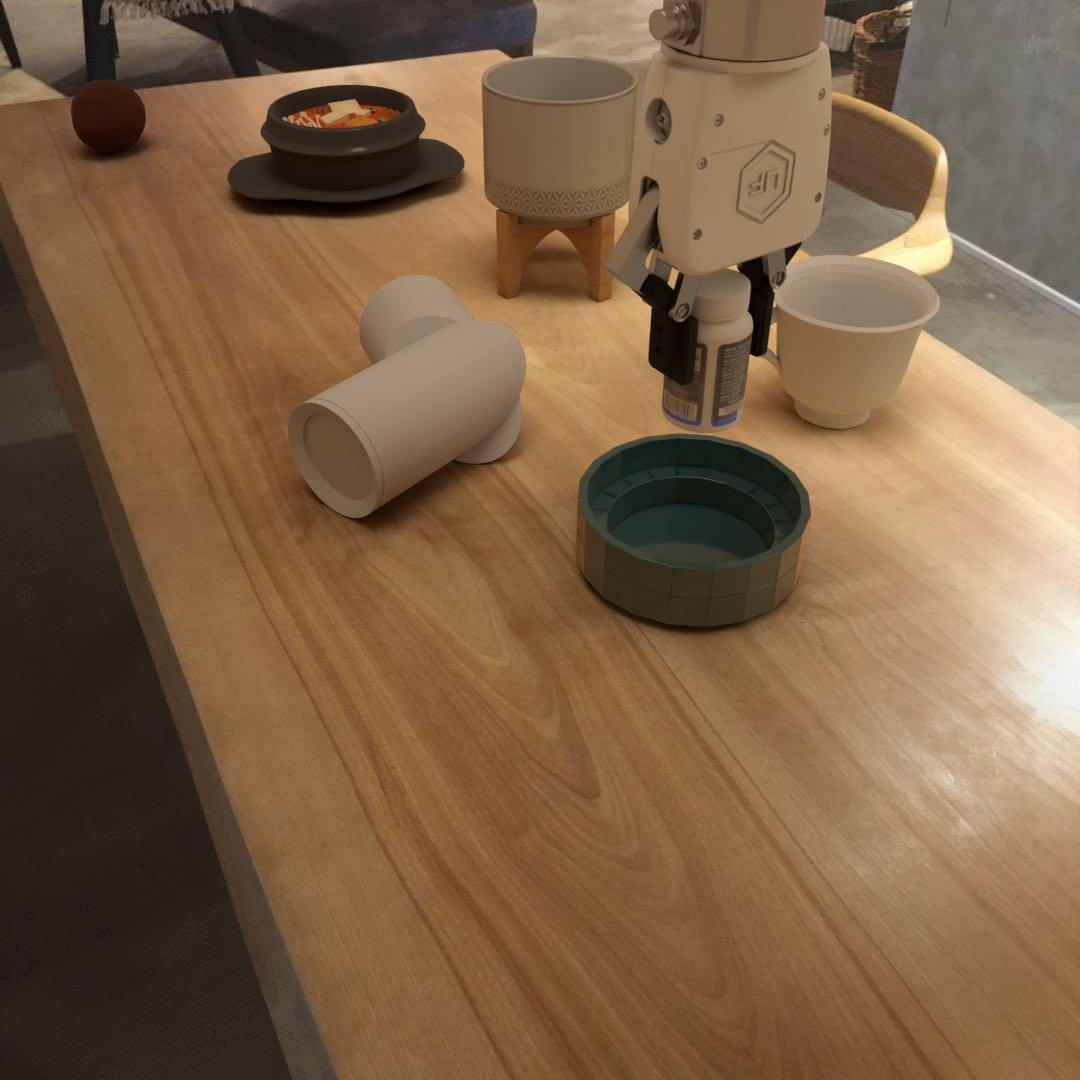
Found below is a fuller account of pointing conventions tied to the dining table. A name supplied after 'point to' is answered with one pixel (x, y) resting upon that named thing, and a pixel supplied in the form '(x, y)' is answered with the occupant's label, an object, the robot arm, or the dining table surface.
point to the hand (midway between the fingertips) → (707, 357)
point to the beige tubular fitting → (411, 399)
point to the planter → (557, 158)
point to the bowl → (691, 529)
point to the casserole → (343, 148)
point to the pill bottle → (715, 357)
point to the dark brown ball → (108, 115)
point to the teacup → (846, 334)
